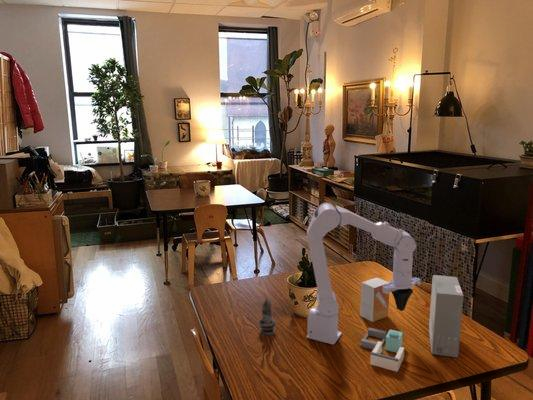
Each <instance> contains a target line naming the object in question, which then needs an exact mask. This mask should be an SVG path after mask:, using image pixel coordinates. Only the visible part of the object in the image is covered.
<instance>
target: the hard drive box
mask: <svg viewBox="0 0 533 400" xmlns="http://www.w3.org/2000/svg"><path fill="white" fill-rule="evenodd" d="M431 279H432V280H431V295H430V306H429V307H430V309H429V322H428V323H429V325H428V332H429V333H428V334H429V342H430V349H431V350H430V351H431V352H430V353H431V354H433V355H435V356H443V357H444V356H446V357H450V358H459V352H460V341H461V329H462V328H461V327H462V318H463V306H464V305H463V304H464V298H465V297H464V294H463V289H462V287H461V285H460V282H459V279H458V277H456V276H449V275H440V274H439V275H438V274H437V275H436V274H433V275H432V278H431Z"/></svg>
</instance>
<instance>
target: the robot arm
mask: <svg viewBox="0 0 533 400" xmlns="http://www.w3.org/2000/svg"><path fill="white" fill-rule="evenodd" d="M347 225H350V226H353V227H355V228H358V229H361V230H363V231H365V232H366V233H367V232H368V233H370V234H371V237H372V238H373V239H374V240H376V241H378V242H380V243H383V244H385V245H387V246H390V247H393V249H394V250H393V264H392V278H391V279H390V282H389V283H388V284H387V285H385V286H383V288H382V292H383V293H385V294H389V295H390V293H391V294H392V296H393V299H394V301H395V306H396V309H397V310H398V311H401V312H403V311H405V309H406V307H407V304H408V301H409V299H410V297H411V295H412V294H413V293H414V290H413V288H412V287H414V286H416V285H417V286H420V285H421V278H419V277H415V276H414V277H413V276H412V275H413V274H412V273H413V260H414V257H413V254H414V252H415V250H416V249H417V244H416V240H415V239H414V238H413V237H412V236H411V235H410V233H408V232H407V231H406V230H404V229H402V228H399V229H398V228H396V227H393V226H391V225H390V223H389V222H388V221H378V222H373V221H370V220H369V219H367V218H365V217H362V216H361V215H358V214H357V213H354V212H352V211H350V210H349V209H347V208H344V207H341V206H339V205H334V204H332V203H330V202H323V203H321V204H320V205H318V207H317V208H316V209H315V210H314V211H313V214H312V217H311V220H310V222H309V225H308V227H307V229H306V236H307V237H306V238H307V241H308V247H309V248H308V249H309V251H310V252H309V253H310V257H311V263H312V267H313V273H314V278H315V283H316V289H317V290H316V294H315V299H316V302H317V306H316V307H311V309H309V312H308V315H307V335H306V339H310V340H314V341H318V342H320V343H321V342H322V343H324V344H325V343H326V344H329V345H335V344H336V342H337V341H338V340H339V338H340V337H341V336H342V334H343V332H342V331H339V329H338V328H339V323H338V322H339V303H338V301H337V298H336V293H335V291H334V290H333V288H332V284H331V277H330V274H329V267H328V262H327V257H326V252H325V245H324V240H323V238H324V237H325V236H326V235H327V234H328V233H329V232H331V231H333V230H334V229H335V228H338V226H340V227H343V226H347Z"/></svg>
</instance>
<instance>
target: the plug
mask: <svg viewBox="0 0 533 400" xmlns="http://www.w3.org/2000/svg"><path fill="white" fill-rule="evenodd" d="M386 335H387V336H386V340H385V346H384V347H385V351H388V352H391V353H396V354H397V352H398V350H399V348H400V347H403V335H404V333H403V332H402V331H398V330H394V329H389V330H388V332H387V333H386Z"/></svg>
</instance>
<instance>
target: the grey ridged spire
mask: <svg viewBox="0 0 533 400" xmlns="http://www.w3.org/2000/svg"><path fill="white" fill-rule="evenodd" d="M272 312H273V310H272V302H271V301H270V300H269V299H268V298H265V300H264V301H262V310H261V313H262V318H260V319H259V320H258V321H257V322H258V325H259V328H260V329H259V334H261V335H263V336H272V335H273V334H275V333H276V330H275V329H274V328H275V325H276V322H277V320H276V319H274V318H272Z"/></svg>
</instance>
